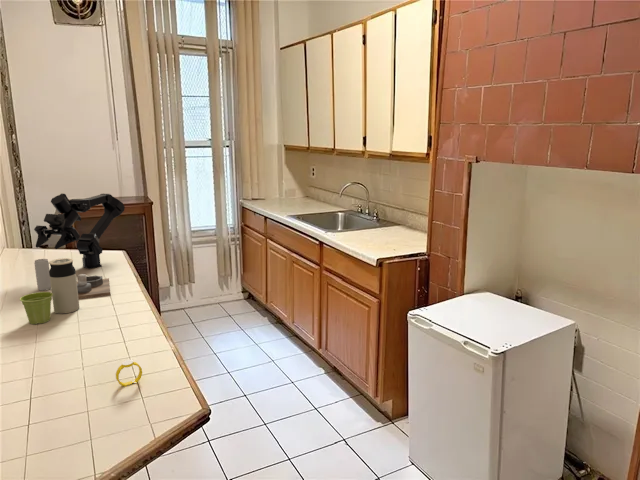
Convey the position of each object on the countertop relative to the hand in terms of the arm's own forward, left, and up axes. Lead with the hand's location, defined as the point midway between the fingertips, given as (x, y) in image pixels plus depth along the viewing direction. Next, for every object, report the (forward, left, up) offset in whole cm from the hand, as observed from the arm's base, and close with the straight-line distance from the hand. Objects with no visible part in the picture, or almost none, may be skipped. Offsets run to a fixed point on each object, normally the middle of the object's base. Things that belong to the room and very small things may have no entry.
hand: (45, 247), depth 195 cm
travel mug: (+8, +39, -15) cm, 42 cm away
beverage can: (+5, +8, -15) cm, 18 cm away
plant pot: (+18, +43, -15) cm, 49 cm away
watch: (+17, +104, -15) cm, 106 cm away
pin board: (-7, +22, -15) cm, 27 cm away
